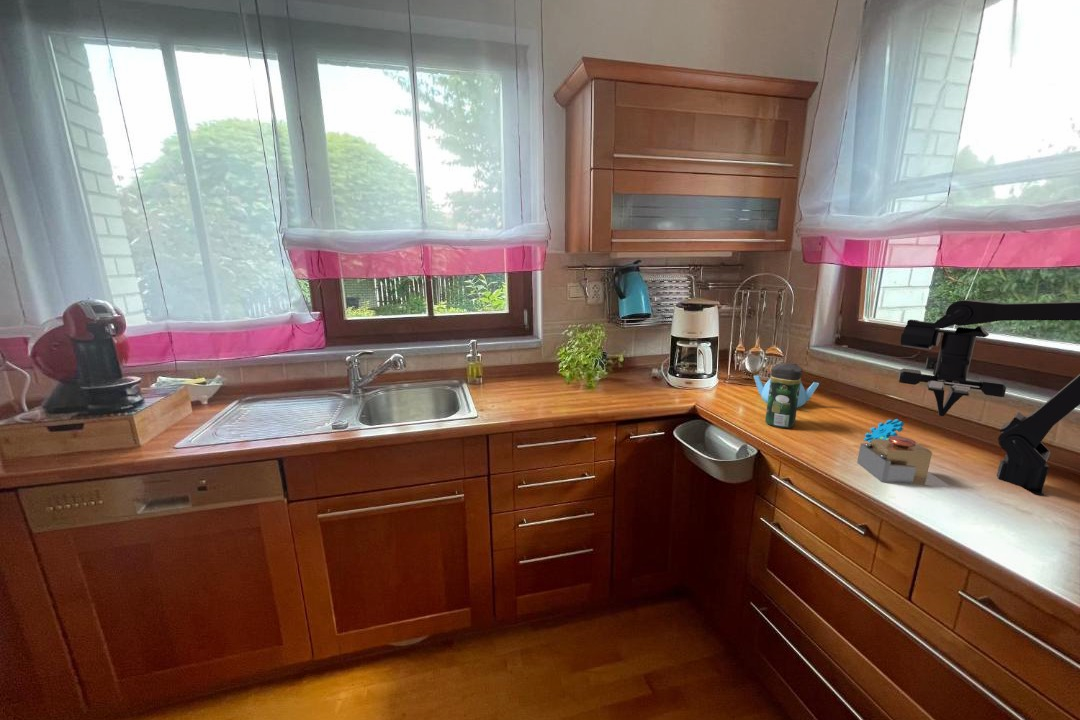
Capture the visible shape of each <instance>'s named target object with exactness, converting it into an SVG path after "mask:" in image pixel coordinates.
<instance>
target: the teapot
mask: <svg viewBox="0 0 1080 720" xmlns="http://www.w3.org/2000/svg"><path fill="white" fill-rule="evenodd" d="M753 378H754V379H753V380H754V381H755V385H756V389H757V392H758V394H759V395H760V397H761V399H762V400H763V401H764V403H766V404H767V403H768V395H769V387H770V379H771V377H770V378H769V379H768V380H767V382H766V383H765V384H763V382H762V379H761V378H760V376H759V375H753ZM819 385H820V383H819V382H815V381H813V382H812V383H811V385H810V386H808V388H807V389H806V390H805V387H804V386H803V383H802V382H801V383H800V390H799V397H798V403H797V409H798V407H799V408H800V407H802V406H804V405H805V404H806V402H809V400H810V399H811V398H812V396H813V394H814V393H815V391H816V390H817V388H818V387H819Z"/></svg>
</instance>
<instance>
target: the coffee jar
mask: <svg viewBox="0 0 1080 720" xmlns="http://www.w3.org/2000/svg"><path fill="white" fill-rule="evenodd" d="M802 374H803V369H802V367H801V366H799V365H798V364H797V363H793V362H784V361H783V362H780V363H777V364H774V365H773V367H772V368H771V373H770V378H771V379H770V378H769V379H770V387H769V395H768V403H766V404H767V405H766V413H765V419H764V420H765V421H764V422H765V423H766V424H767V425H770V426H772V427H775V428H779V429H785V428H786V429H790V428H792V427H793V426H794V425H795V423H796V418H797V417H796V416H797V409H798V408H797V403H798V397H799V390H800V383H802Z"/></svg>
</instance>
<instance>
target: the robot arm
mask: <svg viewBox="0 0 1080 720" xmlns="http://www.w3.org/2000/svg"><path fill="white" fill-rule="evenodd" d="M1000 321H1080V301H1065V302H1064V301H1061V302H1060V301H1059V302H1058V301H1055V302H1016V303H1015V302H1014V303H1013V302H1012V303H1006V302H998V301H997V302H996V301H989V300H979V299H978V300H977V299H972V298H971V299H961V300H957V301H954V302H953V303H951V304H950V305H949V306H948V307H947V308H946V311H945V314H944V315H943V316H942V317H940V318H939V319H937V320H935V322H933V321H931V322H930V321H923V320H917V319H907V322H906V325H905V327H904V328H903V332H901V336H900V346H902V347H906V348H914V349H920V350H929V351H931V349H932V348H933V347H938V346H939V344H940V348H939V351H938V357H933V356H927V358H926V363H925V368H924V369H925V371H931V372H932V375H930V374H925V373H923V374H922V372H921V370H920V369H911V368H902V369H899V373H898V383H900V384H908V385H913V386H914V385H915V386H916V385H918V384H919V383H920V382H921V383H926V387H927V391H931V392H933V395H934V396H935V401H936V406H937V412H938V416H939V417H944V416H945V415H946V414H947V413H948V411H949V410H950V409H951V408H952V407H953V405H954V404H955V403H956V402H958V401H959V400H960V398H962V397H963V396H965V397H966V396H967V397H968V396H970V393H969V391H970V390H971V389H974V390H979V391H981V392H982V393H983V394H984V395H986V396H991V397H998V398H1005V395H1006V391H1007V386H1005V384H1004V383H1003V382H1002V381H1001V380H999V379H991V378H985V377H979V379H978V381H977V380H969V379H967V377H968V373H969V370H970V364H971V360H972V357H973V353H974V347H975V343H976V339H977V337H978V338H986V337H989V335H990V333H989V332H987V331H986V330H985V329H984V327H983V326H982V325H978V324H987V323H993V322H994V323H995V322H1000ZM954 325H955V326H957V328H956V329H955V330H953V329H952V330H951V329H945V328H949V327H952V326H954ZM970 325H971V326H972V325H978V326H977V327H975V328H974V327H973V328H972V327H965V326H970ZM963 326H964V327H963ZM942 334H943V335H942ZM941 338H942V339H941ZM944 386H949V389H948V393H947V396H946V398H945V389H944ZM944 400H945V401H944ZM1079 406H1080V373H1079V374H1078V375H1077V376H1076V377H1074V378H1073V379H1072V380H1071V381H1070V382H1069V383H1067V384H1066V385H1065V386H1064V387H1063V388H1062V389H1060V390H1059V391H1058V392H1056V393H1055V394H1054V395H1053V396H1052V397H1050V399H1048V400H1047V401H1046V402H1045V403H1043V405H1040V407H1039V408H1037V409H1036V410H1035V411H1034V412H1032V413H1029V414H1028V415H1023V413H1021V412H1017V413H1016V415H1015V416H1014V417H1013V418H1012V419H1011V420H1010V421H1008V422H1006V423H1004V424H1003V425H1002V427H1000V429H999V432H1000V435H998V439H997V441H998V444H999V446H1000V447H1001V449H1002V450H1004V451H1005V452H1006V454H1005V456H1004V459H1003V460H999V463H998V467H997V468H998V469H997V472H996V477H997V479H998V480H999V481H1002V482H1005V483H1009V484H1011V485H1014V486H1017V487H1020V488H1022V489H1024V490H1026V491H1028V492H1030V493H1031V494H1034V495H1039V496H1045V492H1044V490H1043V489H1044V485H1045V482H1046V478H1047V475H1048V472H1049V468H1050V466H1049V465H1048V463H1047V462H1048V459H1049V457H1050V456H1051V451H1050V449H1048V448H1047V446H1045V444H1044V443H1043V442H1042V441H1043V440H1044V439H1045V438H1046V436H1047V434H1048V433H1049V432H1050V430H1052V428H1053V427H1054V426H1055V425H1056V424H1057V423H1058V422H1060V421H1062V419H1063V418H1065V417H1066V416H1067V415H1069V414H1070V413H1071V412H1072V411H1074V410H1075V409H1076V408H1078V407H1079Z"/></svg>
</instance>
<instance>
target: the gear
mask: <svg viewBox="0 0 1080 720" xmlns="http://www.w3.org/2000/svg"><path fill="white" fill-rule="evenodd" d="M877 426H878V427H877V428H876V427H875V426H873V427H871V428H870V429H869V430H870V431H871V433H870V432H867V433H866V434H864V436H865V437H864V438H863V441H865V442H867V443H868V444H871V440H872V439H884V440H888V439H889V436H899V435H898V433H897V432H899V433H900V432H901V431H903V430H904V427H903V426H904V422H903V421H900V419H898V418H896V419H894V420H892V419H887V420H886V421H885V423H884V422H879V423H878V424H877ZM896 431H897V432H896Z"/></svg>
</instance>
